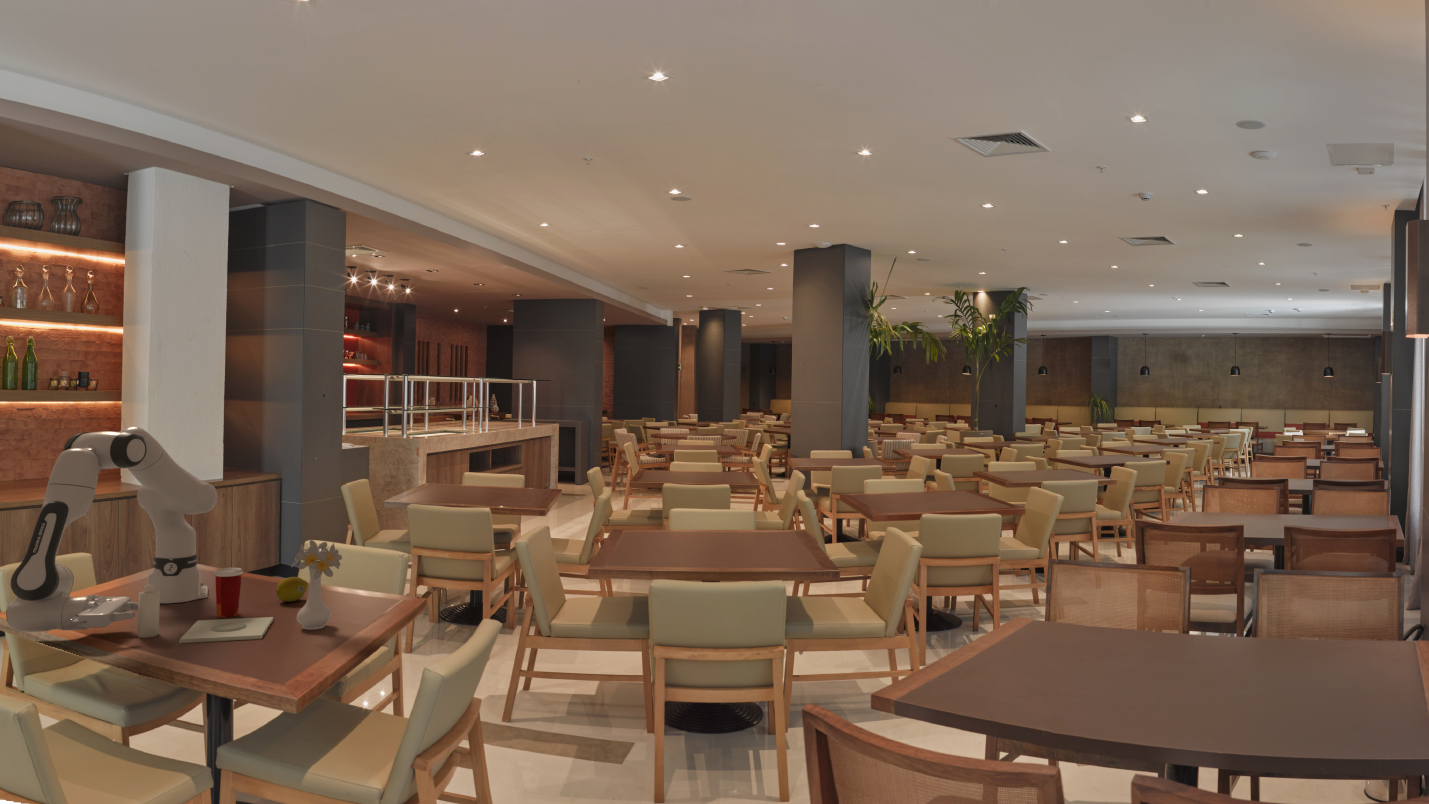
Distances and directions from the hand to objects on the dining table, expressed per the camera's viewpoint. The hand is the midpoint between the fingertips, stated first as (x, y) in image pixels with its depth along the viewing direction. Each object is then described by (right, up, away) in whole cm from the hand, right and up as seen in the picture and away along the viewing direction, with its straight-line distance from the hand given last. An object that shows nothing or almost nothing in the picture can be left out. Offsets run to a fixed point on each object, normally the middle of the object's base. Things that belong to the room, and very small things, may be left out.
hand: (139, 610), depth 238 cm
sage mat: (+21, -8, +7) cm, 23 cm away
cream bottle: (+2, -7, +1) cm, 7 cm away
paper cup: (+11, -7, +24) cm, 27 cm away
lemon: (+21, -8, +43) cm, 49 cm away
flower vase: (+43, -9, +14) cm, 46 cm away
